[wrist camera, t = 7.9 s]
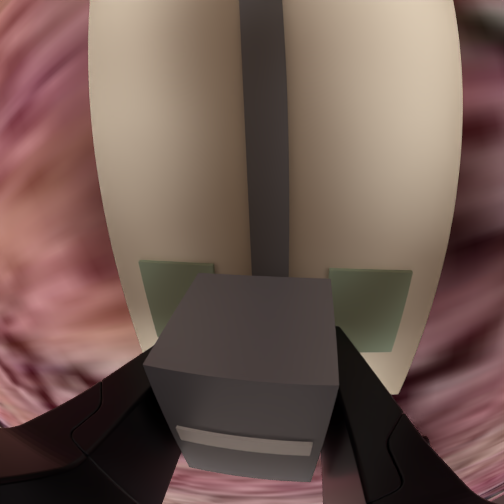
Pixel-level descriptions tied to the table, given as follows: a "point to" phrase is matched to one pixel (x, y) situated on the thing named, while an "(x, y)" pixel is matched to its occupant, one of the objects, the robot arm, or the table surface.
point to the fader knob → (249, 374)
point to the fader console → (281, 153)
